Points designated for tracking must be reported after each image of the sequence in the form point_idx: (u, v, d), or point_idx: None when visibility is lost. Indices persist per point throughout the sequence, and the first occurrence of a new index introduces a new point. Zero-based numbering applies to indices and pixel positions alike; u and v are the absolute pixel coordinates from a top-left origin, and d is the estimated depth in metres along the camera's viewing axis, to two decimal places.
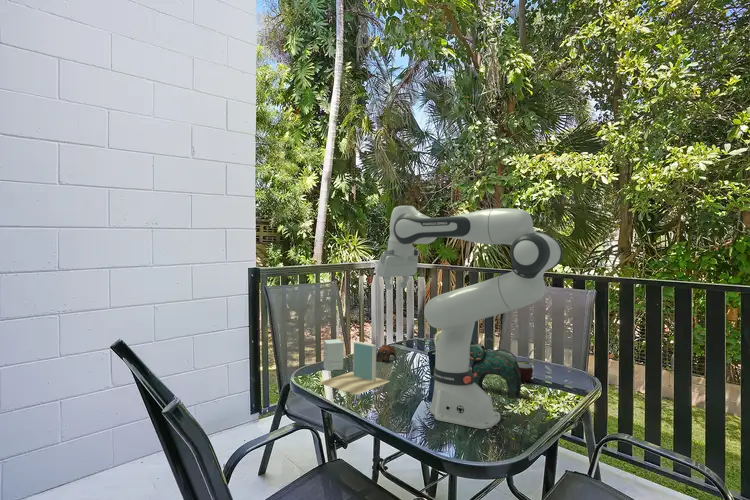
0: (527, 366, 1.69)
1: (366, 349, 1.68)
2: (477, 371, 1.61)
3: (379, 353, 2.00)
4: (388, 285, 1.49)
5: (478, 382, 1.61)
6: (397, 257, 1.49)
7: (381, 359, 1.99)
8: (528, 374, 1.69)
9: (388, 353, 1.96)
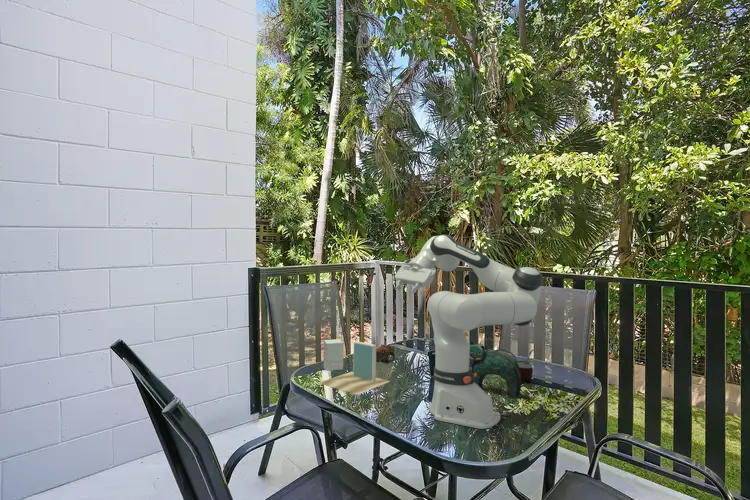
0: (527, 366, 1.69)
1: (366, 349, 1.68)
2: (477, 371, 1.61)
3: (378, 353, 2.00)
4: (415, 290, 1.78)
5: (478, 382, 1.61)
6: None
7: (380, 359, 1.99)
8: (528, 374, 1.69)
9: (387, 353, 1.96)
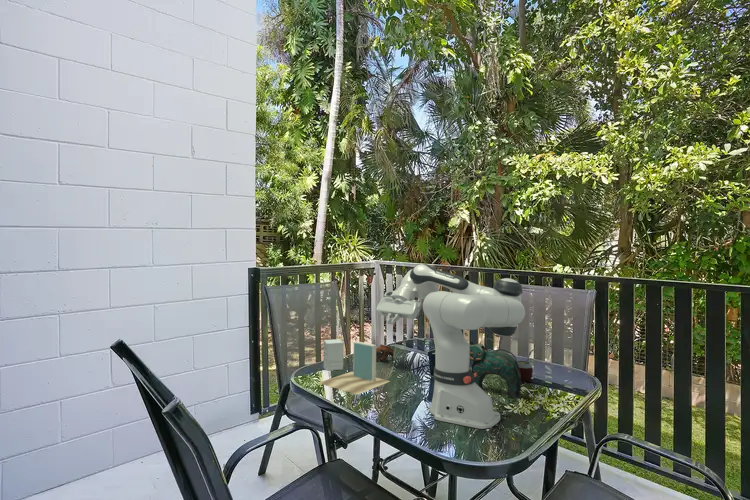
0: (527, 366, 1.69)
1: (366, 349, 1.68)
2: (477, 371, 1.61)
3: (377, 353, 2.00)
4: (394, 321, 1.84)
5: (478, 382, 1.61)
6: None
7: (379, 359, 1.99)
8: (528, 374, 1.69)
9: (386, 353, 1.96)
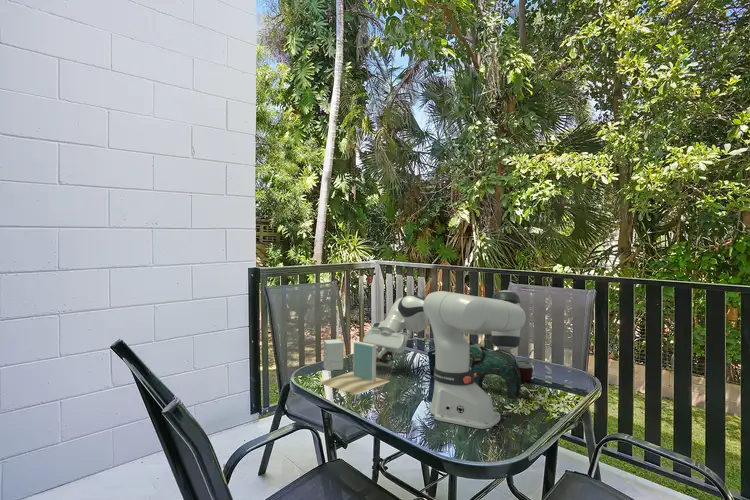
0: (527, 366, 1.69)
1: (366, 349, 1.68)
2: (477, 372, 1.60)
3: None
4: (381, 355, 1.76)
5: (478, 382, 1.61)
6: None
7: (378, 359, 1.99)
8: (528, 374, 1.69)
9: (385, 353, 1.96)
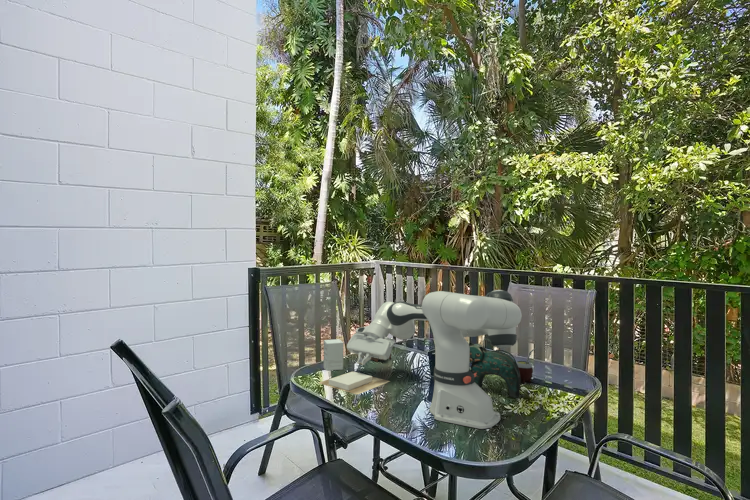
0: (527, 366, 1.69)
1: None
2: (476, 372, 1.60)
3: None
4: (365, 362, 1.68)
5: (478, 382, 1.61)
6: None
7: (376, 359, 1.99)
8: (528, 374, 1.69)
9: None
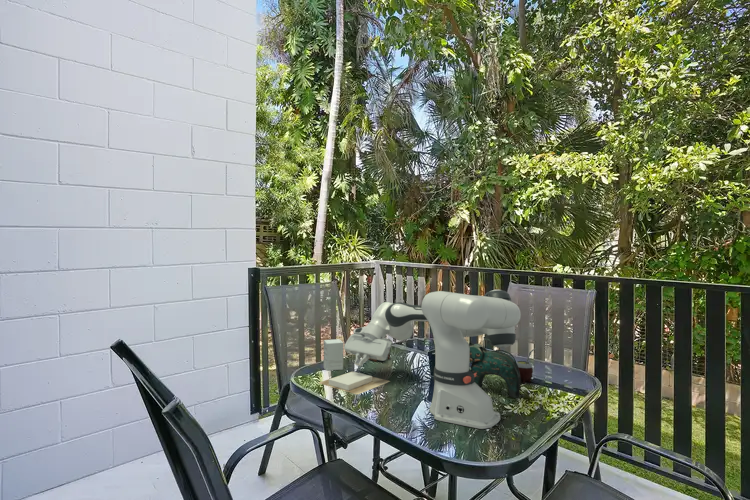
0: (527, 366, 1.69)
1: None
2: (476, 372, 1.60)
3: None
4: (362, 362, 1.67)
5: (478, 382, 1.61)
6: None
7: (375, 359, 1.99)
8: (528, 374, 1.69)
9: None
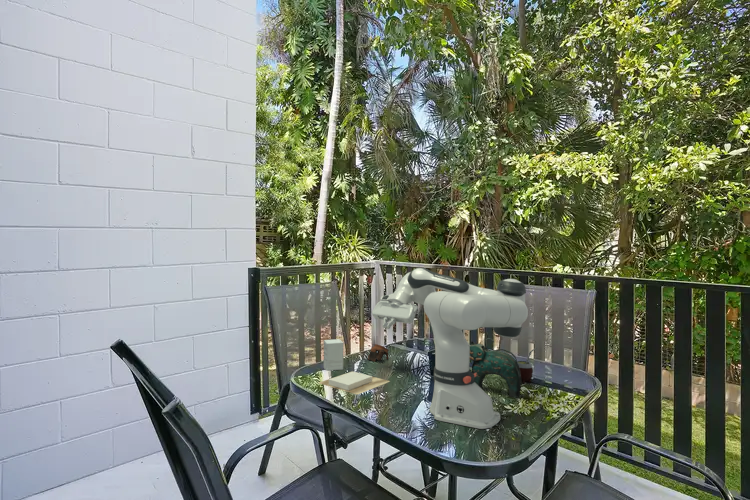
0: (527, 366, 1.69)
1: None
2: (477, 371, 1.61)
3: (372, 353, 2.00)
4: (390, 326, 1.79)
5: (478, 382, 1.61)
6: None
7: (374, 359, 1.99)
8: (528, 374, 1.69)
9: (381, 353, 1.97)
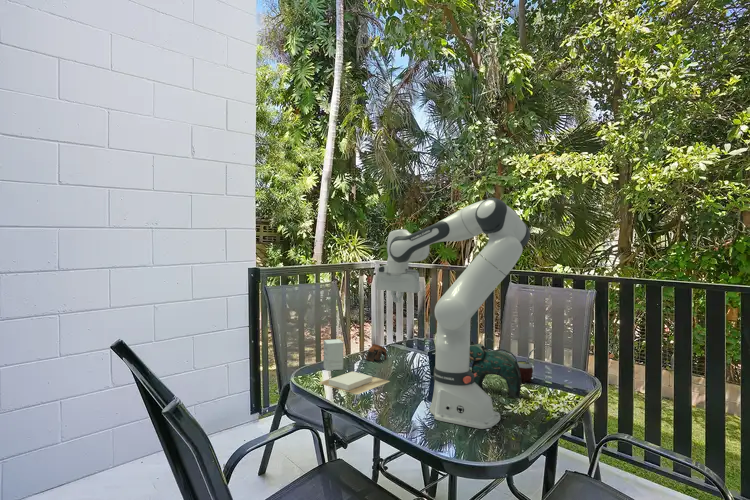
0: (527, 366, 1.69)
1: None
2: (477, 371, 1.61)
3: (370, 353, 2.01)
4: (400, 298, 1.74)
5: (478, 382, 1.61)
6: None
7: (372, 359, 1.99)
8: (528, 374, 1.69)
9: (379, 353, 1.97)
